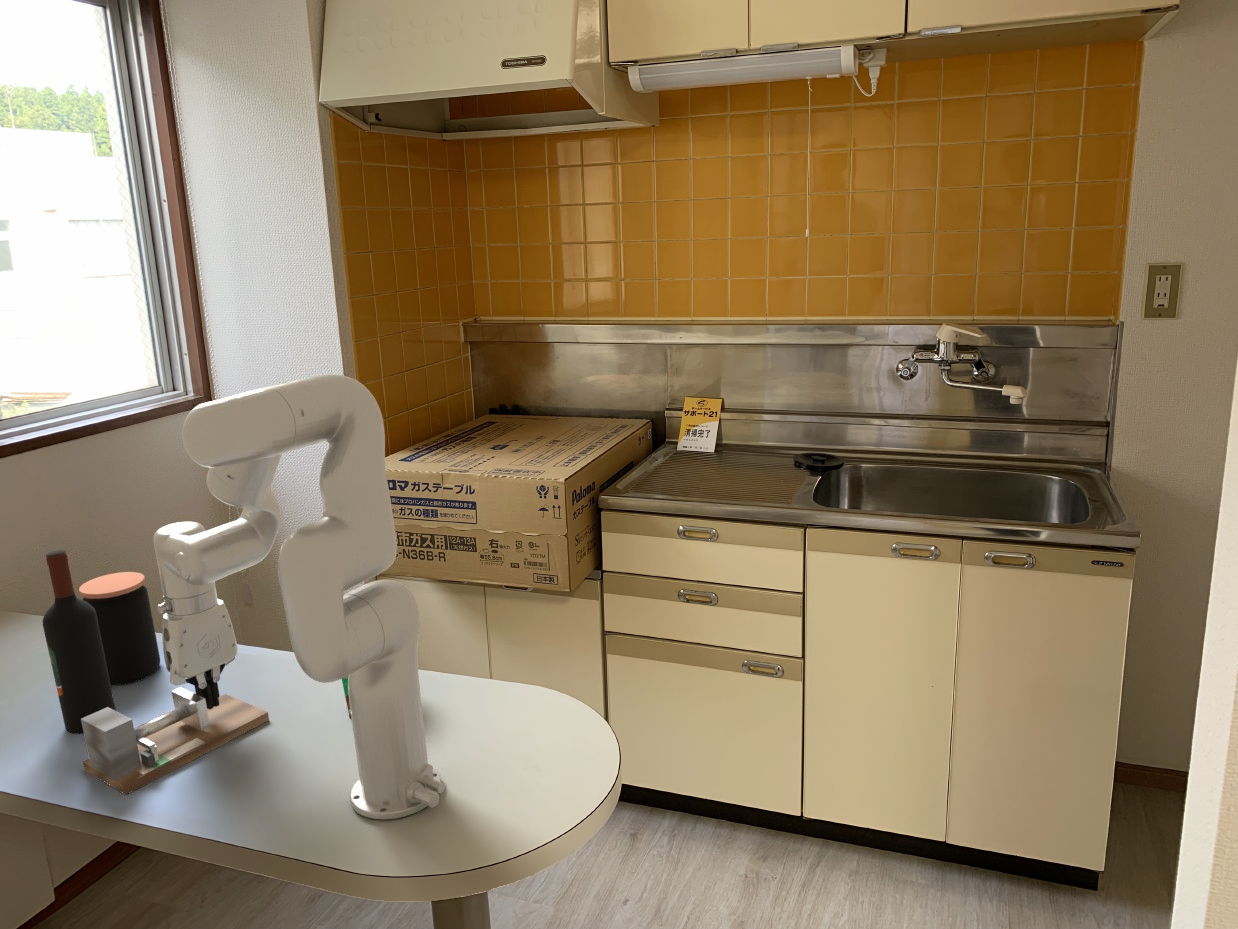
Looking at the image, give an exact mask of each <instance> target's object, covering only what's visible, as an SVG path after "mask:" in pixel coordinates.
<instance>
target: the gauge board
mask: <svg viewBox="0 0 1238 929" xmlns="http://www.w3.org/2000/svg"><path fill="white" fill-rule="evenodd" d="M218 699H219V706H217V707H213V709H210V710H209V709H207V712H208V717H209V723H210V727H208V728H206V729H204V730H202V731H200V730H198V729H196V728H194V727H192V726H190V725H188V724H186V723H184V722H182V721H179V722H177V723H175V724H173V725H171V726H168V727H166V728H164V729H162V730H160V731H158V732H156V733H154V734H152V735H150V736H148V737H146V738H145V739H147V740H149V741H151V742H153V743H155V746H156V747H157V752H158V758H159V760H157V761H155V762H156V765H154V766H152V767H150V768H149V767H147V766H146V765H144V764H142V759H141V754H140V753H141V752H143V751H145V750H148V749H146V748H144V747H143V746H141V745H139V744H137V741H136V736H135V731H134V728H135V727H134V722H133V721H134V720H133V719H132V718H130V717H129V716H126V715H124V714H122V713H120V712H119V711H115V710H113V709H111V708H109V707H107V708H104V709H102V710H100V711H98V712H95V713H93V714H91V715H88V716H86V717H84V718H82V719H81V722H82V727H83V732H84V734H83V736H84V741H85V745H86V749H87V755H88V759H86V760H84V761H82V764H83V770H84V772H87V773H88V774H90V775H92V776H93V777H95V778H96V777H97V778H96V779H98V780H100V779H101V780H100V781H102V782H103V781H105V782H106V783H105V782H104V783H105V784H107V783H108V784H110V785H111V786H110V785H109V786H110V787H112V786H113V787H115V788H116V789H115V788H114V789H115V790H117V789H118V790H119V792H120V791H121V792H120V793H122V792H123V793H124V795H125V794H127V795H128V793H129V792H131V791H133V792H134V790H135V791H136V790H138V789H140V788H143V787H144V786H146V785H148V784H150V783H152V782H154V781H156V780H158V779H159V777H160V778H161V777H163V776H165V775H167V774H169V773H171V772H173V771H175V770H177V769H179V768H181V767H182V766H184V765H187V764H188V763H190V762H192V761H194V760H196V759H198V758H200V757H202V756H204V755H205V753H206V754H207V753H209V752H211V751H213V750H215V749H217V748H219V747H220V745H221V746H223V745H225V744H227V743H228V742H227V741H229V740H231V741H232V740H234V739H236V738H238V737H240V736H242V735H244V734H245V733H244V732H246V733H247V731H248V732H250V731H251V730H250V729H252V730H254V729H255V728H257V727H259V726H261V725H263V724H265V723H267V722H268V721H270V718H269V712H268V711H266V710H264V709H262V708H259V707H257V706H254V705H252V704H250V703H247V702H245V701H243V700H240V699H238V698H236V697H233V696H231V695H229V694H226V693H224V694H222V695H220V696H219V698H218ZM264 722H265V723H264ZM253 728H254V729H253ZM249 730H250V731H249ZM243 733H244V734H243ZM241 734H242V735H241ZM239 735H240V736H239ZM237 736H238V737H237ZM235 737H236V738H235ZM233 738H234V739H233ZM226 742H227V743H226ZM229 742H230V741H229ZM224 743H225V744H224ZM222 744H223V745H222ZM148 751H149V750H148ZM203 754H204V755H203ZM199 756H200V757H199ZM180 766H181V767H180ZM155 779H156V780H155ZM153 780H154V781H153ZM147 783H148V784H147ZM108 784H107V785H108ZM113 787H112V788H113ZM118 790H117V791H118ZM123 793H122V794H123ZM131 793H132V792H131ZM129 794H130V793H129Z"/></svg>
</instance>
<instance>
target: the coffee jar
mask: <svg viewBox="0 0 1238 929" xmlns="http://www.w3.org/2000/svg"><path fill="white" fill-rule="evenodd" d="M145 583H146V577H145V575H144V574H143V573H142V572H135V571H122V572H121V571H120V572H116V573H114V572H113V573H109V574H104V575H101V576H97V577H95V578H92V579H90V580H88V581H85V582H84V583H82V584H81V585H80V587H78V588H79V589H78V593H79V595H80V596H81V597H82V599H81V600H83V601H86V602H88V603H89V604H90V605H91V606H92V607H94V609H95V611H96V615H97V620H98V625H99V630H100V635H101V640H102V645H103V650H104V655H105V660H106V665H107V670H108V675H109V679H110V684H111V686H124V685H129V684H134V683H137V682H139V681H143V680H145V679H146V678H148V677H151V676H152V675H153V674H154V673H155V672H156V671H157V670H158V669H159V666H160V663H161V657H160V656H161V655H160V650H159V646H158V640H157V635H156V629H155V624H154V619H153V618H154V617H153V613H152V609H151V603H150V597H149V591H148V588H147V587H146V586H145Z"/></svg>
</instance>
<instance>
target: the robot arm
mask: <svg viewBox="0 0 1238 929" xmlns="http://www.w3.org/2000/svg"><path fill="white" fill-rule="evenodd" d="M384 424H385V423H384V417H383V414H382V411H381V408H380V406H379V404H378V402H377V400H376V398H375V396H374V395H373V394H372V393H371V391H370V390H369V389H368V388H367V387H366V386H365V385H364V384H363V383H362V382H360V381H358V380H357V379H355V378H353V377H349V376H346V375H343V374H342V375H341V374H324V375H323V374H322V375H316V376H311V377H307V378H306V377H305V378H300V379H297V380H293V381H289V382H285V383H281V384H275V385H271V386H267V387H261V388H257V389H253V390H248V391H246V392H242V393H239V394H235V395H232V396H228V397H224V398H221V399H215V400H212V401H207V402H204V403H199V404H198V405H197V406H195V407H193V408H192V410H190V412H188V414H187V416H186V418H185V420H184V421H183V425H182V430H181V431H182V432H181V438H182V443H183V448H184V450H185V452H186V455H188V456H189V458H190V460H192V461H193V462H194V463H196V464H197V465H199V466H200V467H203V468H209V469H208V472H207V474H206V479H205V481H206V486H207V489H208V491H209V492H210V494H211V495H212V496H213V497H214V498H216V499H217V500H218V501H220V502H222V503H224V504H225V505H227V506H229V507H230V506H231V507H234V508H239V509H242V511H241V514H240V515H239V517H238V518H237V519H236V520H232V521H230V522H227V523H224V524H220V525H219V526H216V527H213V528H210V529H207V530H206V528H205V526H204V525H203V524H201V523H200V522H197V521H180V522H179V521H178V522H174V523H169V524H166V525H164V526H162V527H159V529H156V531H155V533H153V534H154V535H153V538H152V539H153V546H154V552H155V557H156V562H157V563H156V564H157V568H158V573H159V578H160V579H159V580H160V585H161V590H162V601H163V602H161V604H158V605H157V606H156V610H157V612H158V613H159V614H163V613H164V614H163V615H162V627H161V630H162V632H161V633H162V648H163V649H162V650H163V658H164V662H165V667H166V671H167V672H168V673H169V674H170V675H169V683H170V684H171V685H173V686H182V685H186V684H190V685H192V686H194V690H195V694H197V695H199V696H201V697H204V698H205V700H206V706H207V709H209V710H210V709H213V707H217V706H219V699H218V698H219V697H220V696H221V695H220V690H219V685H218V683H219V681H220V680H221V674H222V672H223V670H224V668H225V667H226V666H228V665H229V664H230V663H232V662H234V661H235V659H236V656H237V655H238V643H237V638H236V635H235V631H234V627H233V623H232V620H231V616H230V614H229V612H228V609H227V607H226V605H225V603H224V600H222V599H219V598H218V595H217V588H216V587H217V586H216V581H218V580H221V579H224V578H227V577H228V576H230V575H234V574H235V573H238V572H240V571H243V570H244V569H248V568H251V567H252V566H255V565H258V564H260V563H261V562H262V561H263V560H264V559H265V558H267V556H268V554H270V552H271V550H272V548H273V545H274V543H275V541H276V538H277V536H278V534H279V530H280V527H281V521H282V520H281V518H282V517H281V511H280V508H279V507H280V506H279V503H278V500H277V498H276V496H275V494H274V493H273V491H272V490H271V489H270V488H271V485H272V483H273V480H274V476H275V475H276V472H277V470H278V466H279V464H280V462H281V461H280V460H281V459H282V455H284V454H286V453H289V452H292V451H296V450H300V449H303V448H306V447H310V446H313V445H315V444H320V443H322V442H327V443H328V448H327V450H326V453H325V455H324V458H323V459H322V460H323V461H322V463H321V467H320V472H319V490H320V491H319V492H320V496H321V502H322V516H321V518H320V519H319V520H316V521H313V522H312V523H308V524H306V525H304V526H302V527H299V528H297V529H295V530H294V531H293V532H292V533H290V534H289V535H288V536H287V537H285V539H284V540H283V542H282V544H281V547H280V549H279V552H278V558H277V574H278V579H279V580H278V581H279V585H280V587H279V588H280V591H281V596H282V601H283V606H284V611H285V612H284V613H285V617H286V618H285V619H286V623H287V624H286V625H287V628H288V633H289V638H290V643H291V648H292V652H293V653H294V656H295V659H296V661H297V663H298V665H299V667H300V668H301V670H302V671H303V673H304V674H305V675H306V676H307V677H308V678H310V679H312V680H313V681H316V682H318V683H324V684H327V683H334V682H336V681H340V680H342V678H344V677H346V676H348V675H349V677H348V694H349V703H350V711H351V718H350V719H351V724H352V732H353V740H354V746H355V748H354V749H355V755H356V756H355V757H356V762H357V770H358V778H359V779H358V780H356V782H355V783H354V785H352V787H351V790H350V792H349V793H350V794H349V799H350V804H351V806H352V808H353V809H354V811H355V812H356V813H357V814H359V815H361V816H363V817H366V818H369V819H373V820H395V819H400V818H404V817H407V816H411V815H413V814H416V813H418V812H420V811H422V810H424V809H425V808H427V807H429V808H432V809H433V808H436V807H437V805H438V804H439V802H440V798H441V796H440V794H442V793H444V791H445V790H446V785H445V783H443V782H442V778H441V774H440V772H439V771H438V770H437V769H436V768H434V767H433V765H432V764H429V759H428V750H427V749H428V748H427V741H426V733H425V732H426V731H425V723H424V714H423V706H422V696H421V684H420V676H419V663H418V662H419V661H418V654H419V653H418V650H419V648H418V647H419V638H420V637H419V635H420V626H421V625H420V624H421V615H420V609H419V604H418V602H417V599H416V597H415V595H414V593H413V592H412V591H411V589H410V588H408V587H407V586H406V585H405V584H404V583H401V582H400V581H397V580H392V579H386V578H385V579H377V580H373V581H371V582H367V583H366V584H363V585H361V586H359V587H356V586H358V585H359V584H361V583H364V582H366V581H368V580H370V579H372V578H374V577H376V576H378V575H380V574H381V573H383V572H384V571H386V570H388V569H389V568H390V567H391V566H392V565H393V564H394V562H395V561H396V557H397V554H398V553H397V552H398V543H397V542H398V541H397V534H396V528H395V521H394V515H393V509H392V502H391V495H390V489H389V483H388V478H387V470H386V434H385V425H384ZM353 587H356V588H354V589H352V590H350V591H348V592H346V593H344V592H345V591H347V590H349V589H351V588H353Z"/></svg>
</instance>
